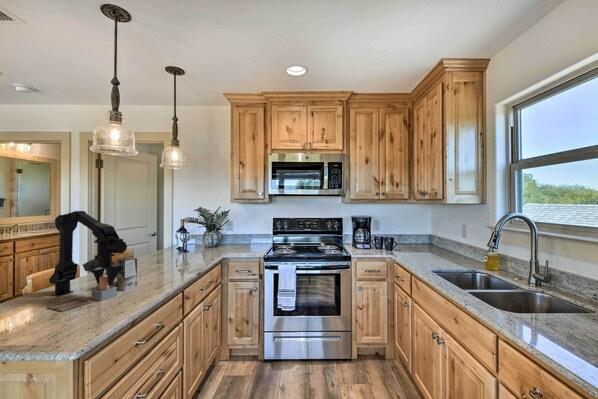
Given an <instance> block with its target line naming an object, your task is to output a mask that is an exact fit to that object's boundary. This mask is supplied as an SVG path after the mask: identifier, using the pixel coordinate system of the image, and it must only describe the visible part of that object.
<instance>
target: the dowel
mask: <svg viewBox="0 0 598 399" xmlns="http://www.w3.org/2000/svg"><path fill="white" fill-rule="evenodd" d="M98 285H99V286H98V288H99V290H100V291H104V290H107V289H110V286H109V285H108V276H107V275H106V274H105V275H103V276H101V277H99V284H98Z"/></svg>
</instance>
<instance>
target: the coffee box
mask: <svg viewBox="0 0 598 399" xmlns="http://www.w3.org/2000/svg"><path fill="white" fill-rule="evenodd" d="M116 264H121V265H123V266H124V270H123V271H121V272H119V273H118V275H117V278H116V287H117V290H118V289H119V290H121V291H123V292H127V291H131V290H134V289H138V258H136V257H131V256H128V257H122V258H117V259H116Z"/></svg>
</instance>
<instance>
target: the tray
mask: <svg viewBox="0 0 598 399" xmlns="http://www.w3.org/2000/svg"><path fill="white" fill-rule="evenodd" d="M92 303H93V300H90V299H85V298H79V297H74V298H70V299H67V300H63V301H61V302H57V303H54V304H50V305H48V306H46V310H47V309H49V310H52V311H56V312H59V313H65V312H68V311H71V310H74V309H77V308H82V307H84V306H87V305H90V304H92Z"/></svg>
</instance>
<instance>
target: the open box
mask: <svg viewBox="0 0 598 399" xmlns="http://www.w3.org/2000/svg"><path fill="white" fill-rule="evenodd" d="M117 292H118V288H117V286H113V285H112V286H110V289H107V290H104V291H100V290H99V287H97V288H94V289H91V300H92V301H93V300H94V301H99V302H103V301H106V300H110V299H112V298H115V297H117V296H118V293H117Z"/></svg>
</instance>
